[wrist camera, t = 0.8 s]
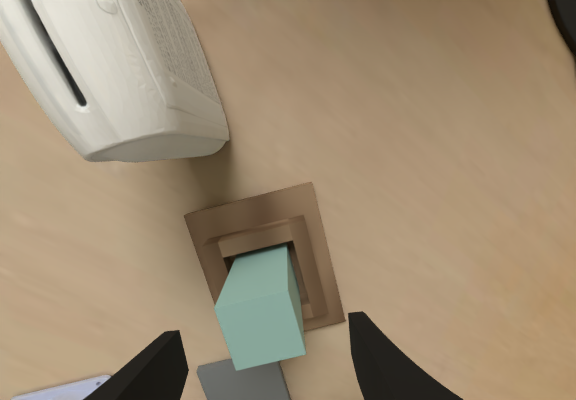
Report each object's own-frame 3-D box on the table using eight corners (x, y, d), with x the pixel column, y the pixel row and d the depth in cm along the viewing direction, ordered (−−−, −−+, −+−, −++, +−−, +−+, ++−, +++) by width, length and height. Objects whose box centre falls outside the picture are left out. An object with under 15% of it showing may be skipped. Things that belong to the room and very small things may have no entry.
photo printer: (126, 17, 18) (-207, -255, 6) (186, -5, 18) (-29, -335, 5) (185, 163, 20) (31, 192, 8) (239, 145, 20) (168, 146, 8)
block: (251, 298, 21) (236, 370, 15) (237, 254, 21) (214, 308, 14) (299, 287, 21) (306, 354, 14) (286, 241, 21) (288, 290, 14)
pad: (222, 427, 25) (220, 434, 24) (198, 366, 23) (196, 371, 23) (294, 411, 25) (294, 417, 24) (274, 348, 23) (274, 353, 23)
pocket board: (231, 343, 23) (226, 363, 21) (186, 213, 21) (175, 221, 18) (343, 316, 23) (350, 334, 20) (311, 181, 20) (314, 186, 18)
